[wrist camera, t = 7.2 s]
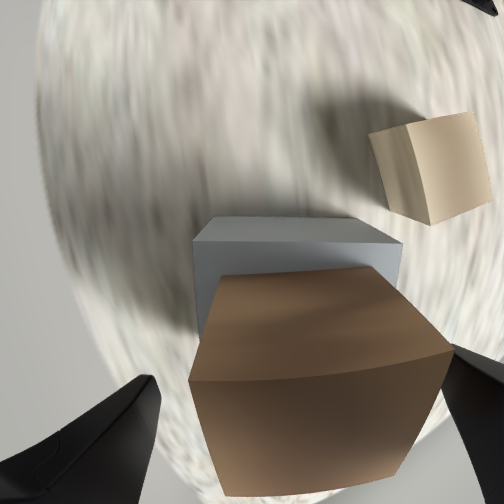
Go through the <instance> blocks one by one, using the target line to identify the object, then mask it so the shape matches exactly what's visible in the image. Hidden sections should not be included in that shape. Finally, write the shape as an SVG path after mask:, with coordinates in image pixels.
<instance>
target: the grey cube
mask: <svg viewBox="0 0 504 504" xmlns="http://www.w3.org/2000/svg"><path fill="white" fill-rule="evenodd" d="M402 247H403V244H402V243H401V242H399V241H397V240H395V239H394V238H392V237H390V236H388V235H387V234H385V233H383V232H381V231H379V230H378V229H376V228H374V227H372V226H370V225H369V224H367V223H365V222H363V221H361V220H359V219H350V218H322V217H279V216H214V217H213V218H212V219H211V220H210V221H209V223H208V224H207V225H206V226H205V227H204V228H203V229H202V230H201V232H200V233H199V234H198V235H197V236H196V237H195V238H194V239H193V241H192V248H193V265H194V281H195V294H196V307H197V318H198V329H199V339H200V340H201V337H202V334H203V331H204V328H205V324H206V321H207V318H208V315H209V312H210V309H211V306H212V303H213V299H214V296H215V293H216V290H217V287H218V284H219V281H220V278H221V275H242V274H261V273H279V272H296V271H312V270H327V269H341V268H355V267H369V266H372V267H373V268H374V269H375V270H376V271H378V272H379V273H380V274H381V275H382V276H383V277H384V278H385V279H386V280H387V281H388V282H389V283H390V284H391V285H392V286H394V287H395V288H396V285H397V279H398V273H399V267H400V261H401V254H402Z"/></svg>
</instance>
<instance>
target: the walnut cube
mask: <svg viewBox="0 0 504 504" xmlns="http://www.w3.org/2000/svg"><path fill="white" fill-rule="evenodd" d="M454 351H455V348H454V347H453V346H452V345H451V344H450V343H449V342H448V341H447V340H446V339H445V338H444V337H443V336H442V335H441V333H440V332H439V331H438V330H437V329H436V328H435V327H434V326H433V325H432V324H431V323H430V322H429V321H428V320H427V319H426V318H425V317H424V316H423V315H422V314H421V313H420V312H419V311H418V310H417V309H416V308H415V307H414V306H413V305H412V304H411V303H410V302H409V301H408V300H407V299H406V298H405V297H404V296H403V295H402V294H401V293H400V292H399V291H398V290H397V289H396V288H395V287H394V286H392V285H391V284H390V283H389V282H388V281H387V280H386V279H385V278H384V277H383V276H382V275H381V274H380V273H379V272H378V271H376V270H375V269H374V268H373V267H372V266H369V267H355V268H341V269H327V270H312V271H296V272H279V273H261V274H242V275H221V278H220V281H219V284H218V287H217V290H216V293H215V296H214V299H213V303H212V306H211V309H210V312H209V315H208V318H207V321H206V324H205V328H204V331H203V334H202V337H201V340H200V343H199V347H198V350H197V353H196V356H195V359H194V363H193V366H192V369H191V372H190V376H189V379H188V382H189V386H190V390H191V393H192V397H193V401H194V404H195V408H196V411H197V415H198V418H199V421H200V425H201V428H202V431H203V434H204V437H205V441H206V444H207V447H208V450H209V453H210V456H211V459H212V462H213V464H214V467H215V470H216V473H217V476H218V478H219V481H220V484H221V486H222V489H223V492H224V494H225V496H231V497H266V496H285V495H297V494H307V493H315V492H322V491H329V490H335V489H340V488H346V487H351V486H355V485H360V484H364V483H368V482H373V481H376V480H380V479H384V478H387V477H391V476H394V475H395V473H396V472H397V470H398V468H399V467H400V465H401V464H402V462H403V461H404V459H405V457H406V456H407V454H408V452H409V451H410V449H411V447H412V445H413V444H414V442H415V440H416V438H417V436H418V435H419V433H420V431H421V429H422V427H423V425H424V423H425V421H426V419H427V417H428V415H429V413H430V411H431V409H432V407H433V404H434V402H435V400H436V398H437V395H438V393H439V391H440V388H441V386H442V384H443V381H444V379H445V376H446V373H447V371H448V368H449V365H450V363H451V360H452V357H453V354H454Z"/></svg>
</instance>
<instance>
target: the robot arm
mask: <svg viewBox="0 0 504 504" xmlns="http://www.w3.org/2000/svg"><path fill="white" fill-rule="evenodd" d="M463 1H465V2H467V3H469V4H471V5H473V6H475V7H477V8H479V9H481V10H483V11H485V12H487V13H488V14H490V15H492V16H494V17H495V16H497V15H498V11H497V9H496V7H495V5H494V3H493V0H463ZM451 345H452V346H453V347H454V348H455V351H454V354H453V357H452V360H451V363H450V365H449V368H448V371H447V373H446V376H445V379H444V381H443V384H442V386H441V390H442V392H443V395H444V398H445V401H446V403H447V406H448V409H449V411H450V413H451V415H452V417H453V420H454V422H455V424H456V426H457V428H458V431H459V433H460V435H461V438H462V440H463V442H464V445H465V447H466V450H467V452H468V454H469V457H470V460H471V462H472V465H473V468H474V470H475V473H476V476H477V478H478V481H479V484H480V487H481V490H482V494H483V497H484V499H485V504H504V364H502V363H500V362H497V361H495V360H492V359H490V358H487V357H485V356H482V355H480V354H477V353H475V352H472V351H470V350H467V349H465V348H462V347H460V346H457V345H455V344H451ZM160 406H161V393H160V390H159V388H158V385H157V382H156V379H155V377H154V376H153V375H146V374H141V375H139V376H137V377H136V378H134V379H133V380H132V381H130V382H129V383H127V384H126V385H125V386H123V387H122V388H120V389H119V390H118V391H116V392H115V393H113V394H112V395H110V396H109V397H107V398H106V399H105V400H103V401H102V402H100V403H99V404H97V405H96V406H95V407H93V408H91V409H90V410H89V411H87V412H86V413H84V414H83V415H81V416H80V417H78V418H77V419H75V420H74V421H72V422H71V423H69V424H68V425H66V426H65V427H63V428H62V429H61V430H60V431H57V432H55V433H54V434H52V435H51V436H49V437H48V438H46V439H44V440H43V441H41V442H39V443H38V444H36V445H34V446H32V447H30V448H28V449H26V450H24V451H22V452H20V453H18V454H16V455H14V456H12V457H10V458H7V459H6V460H3V461H1V462H0V504H138V503H139V499H140V495H141V491H142V487H143V483H144V479H145V476H146V472H147V468H148V464H149V461H150V457H151V453H152V449H153V446H154V442H155V437H156V431H157V425H158V418H159V412H160Z"/></svg>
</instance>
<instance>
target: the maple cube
mask: <svg viewBox="0 0 504 504" xmlns="http://www.w3.org/2000/svg"><path fill="white" fill-rule="evenodd" d="M368 137H369V140H370V143H371V146H372V149H373V152H374V155H375V158H376V161H377V165H378V168H379V171H380V175H381V179H382V182H383V186H384V190H385V193H386V197H387V201H388V205H389V209H390V211H392V212H394V213H397V214H400V215H403V216H405V217H408V218H411V219H413V220H416V221H419V222H421V223H424V224H426V225H429V226H433V225H435V224H438V223H440V222H443V221H445V220H447V219H450V218H452V217H455V216H457V215H459V214H462V213H464V212H466V211H469V210H471V209H473V208H476V207H478V206H480V205H483V204H485V203H487V202H489V201H492V193H491V186H490V180H489V174H488V168H487V163H486V158H485V154H484V149H483V145H482V141H481V137H480V133H479V129H478V126H477V122H476V119H475V116H474V112H473V111H472V112H466V113H460V114H454V115H448V116H443V117H438V118H433V119H428V120H423V121H418V122H413V123H409V124H405V125H401V126H397V127H393V128H389V129H386V130H382V131H378V132H375V133H371V134H368Z"/></svg>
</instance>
